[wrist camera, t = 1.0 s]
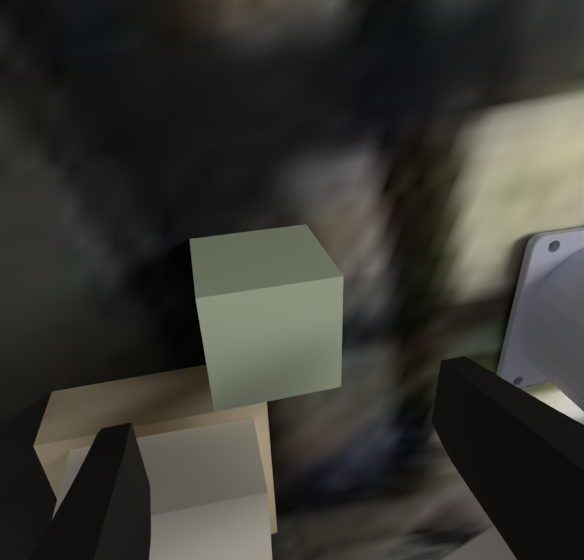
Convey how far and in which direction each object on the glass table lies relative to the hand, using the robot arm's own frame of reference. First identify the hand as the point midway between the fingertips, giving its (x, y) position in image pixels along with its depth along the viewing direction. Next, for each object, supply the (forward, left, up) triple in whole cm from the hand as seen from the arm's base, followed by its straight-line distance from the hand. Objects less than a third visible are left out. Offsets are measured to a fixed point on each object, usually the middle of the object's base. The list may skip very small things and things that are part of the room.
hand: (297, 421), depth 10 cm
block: (0, 0, -7) cm, 7 cm away
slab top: (+4, +7, -4) cm, 9 cm away
